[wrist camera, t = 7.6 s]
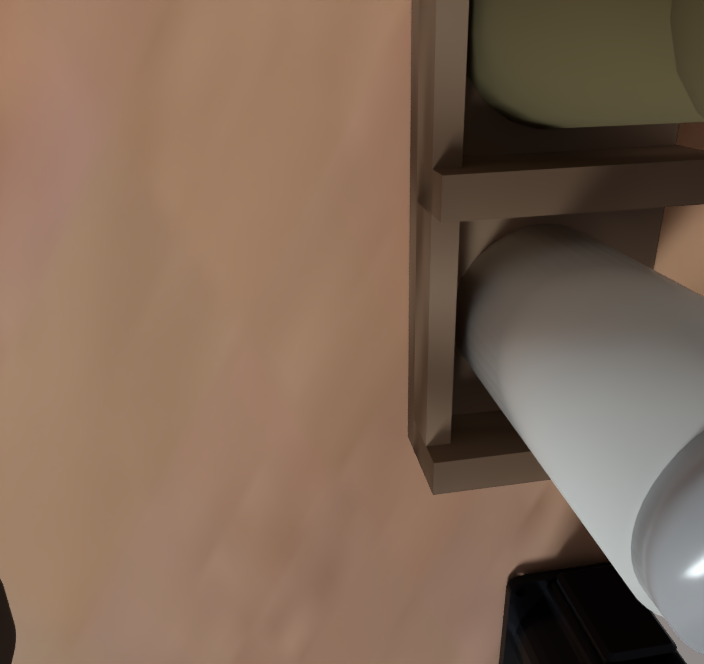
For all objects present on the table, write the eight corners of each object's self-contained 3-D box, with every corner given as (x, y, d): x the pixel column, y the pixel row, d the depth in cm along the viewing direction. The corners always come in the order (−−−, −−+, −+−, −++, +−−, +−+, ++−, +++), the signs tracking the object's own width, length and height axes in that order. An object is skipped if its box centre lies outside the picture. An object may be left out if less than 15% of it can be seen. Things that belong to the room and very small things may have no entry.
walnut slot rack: (614, 412, 24) (667, 464, 21) (408, 436, 23) (432, 494, 20) (718, -212, 16) (827, -271, 13) (413, -219, 15) (456, -286, 12)
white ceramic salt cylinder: (603, 375, 22) (900, 643, 12) (448, 392, 21) (629, 691, 11) (627, 217, 20) (1020, 388, 10) (454, 230, 19) (688, 429, 9)
